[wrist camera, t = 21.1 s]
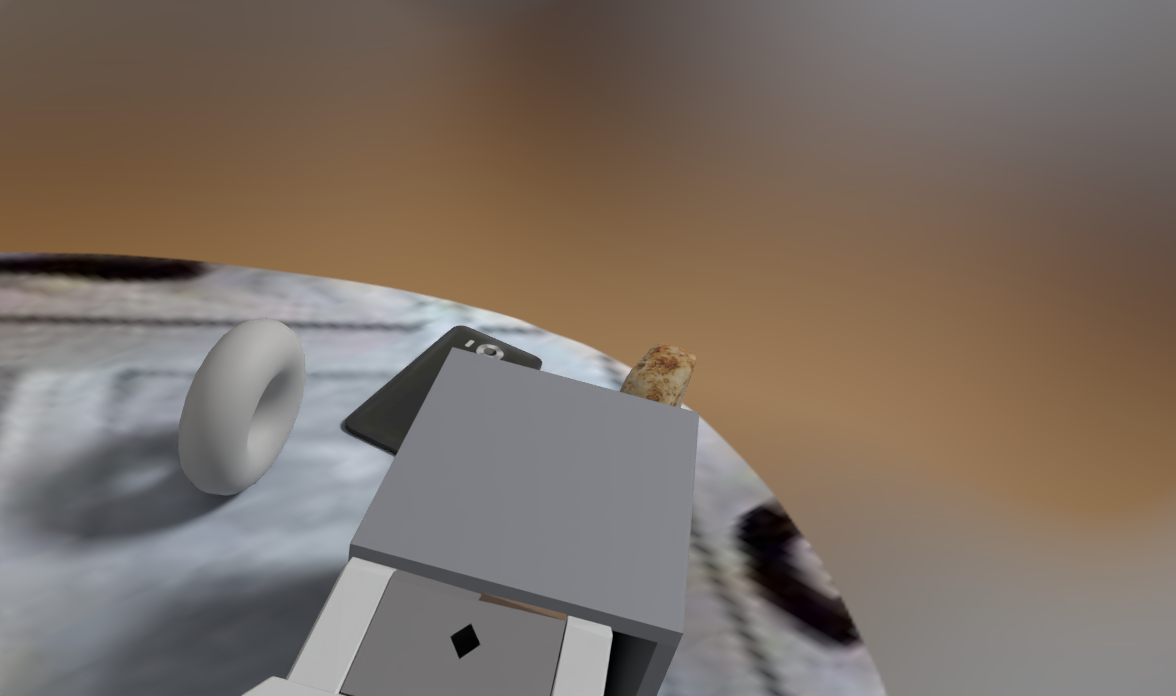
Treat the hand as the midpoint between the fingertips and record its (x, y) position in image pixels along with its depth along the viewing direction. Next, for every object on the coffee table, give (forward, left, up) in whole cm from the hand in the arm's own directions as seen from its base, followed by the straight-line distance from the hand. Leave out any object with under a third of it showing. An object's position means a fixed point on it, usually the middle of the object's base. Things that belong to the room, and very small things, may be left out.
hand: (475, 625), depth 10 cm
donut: (+14, +31, -30) cm, 46 cm away
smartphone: (+29, +31, -31) cm, 53 cm away
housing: (+17, +12, -30) cm, 37 cm away
